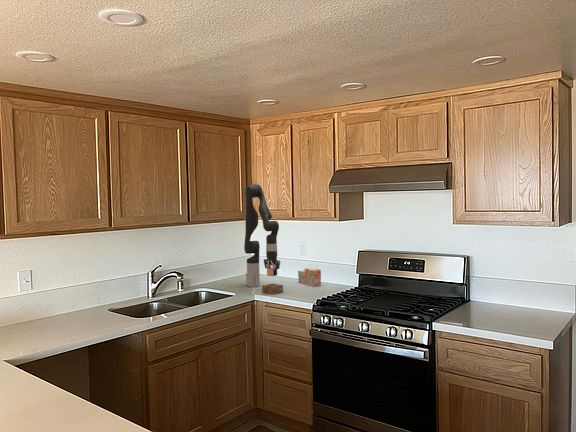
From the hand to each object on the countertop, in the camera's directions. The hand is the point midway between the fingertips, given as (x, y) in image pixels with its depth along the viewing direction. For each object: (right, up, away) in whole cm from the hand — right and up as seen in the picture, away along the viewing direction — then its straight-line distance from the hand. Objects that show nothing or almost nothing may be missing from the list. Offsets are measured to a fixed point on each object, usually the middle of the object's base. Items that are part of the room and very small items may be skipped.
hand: (272, 274), depth 332 cm
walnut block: (0, -12, +1) cm, 12 cm away
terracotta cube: (0, 0, 0) cm, 0 cm away
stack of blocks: (+27, -11, +28) cm, 40 cm away
